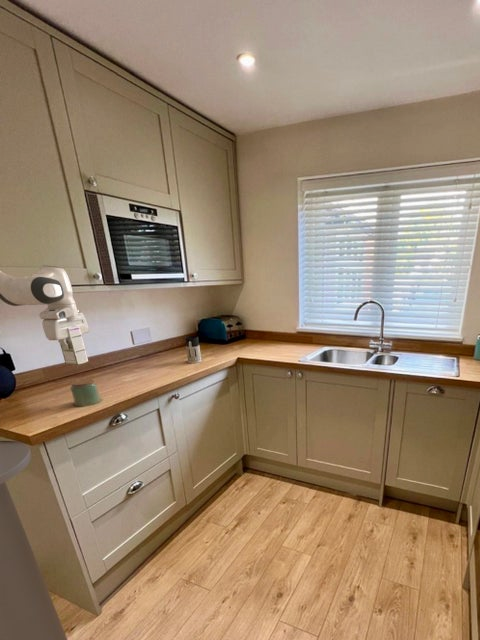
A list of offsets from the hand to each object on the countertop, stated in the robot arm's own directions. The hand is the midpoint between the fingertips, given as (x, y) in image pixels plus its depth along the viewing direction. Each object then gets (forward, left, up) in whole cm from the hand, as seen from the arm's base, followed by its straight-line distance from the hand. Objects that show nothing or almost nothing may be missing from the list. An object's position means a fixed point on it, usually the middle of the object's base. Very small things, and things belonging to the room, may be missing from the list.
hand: (73, 347), depth 130 cm
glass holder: (+67, -24, -23) cm, 75 cm away
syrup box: (0, 0, -6) cm, 6 cm away
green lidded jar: (0, 0, -23) cm, 23 cm away
